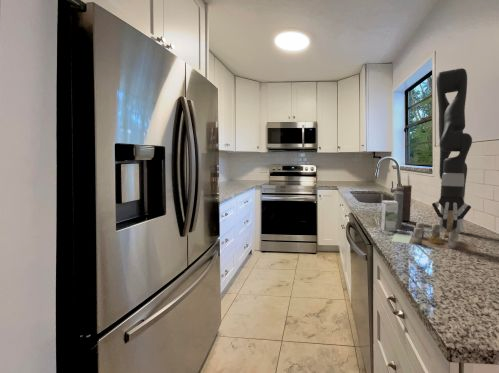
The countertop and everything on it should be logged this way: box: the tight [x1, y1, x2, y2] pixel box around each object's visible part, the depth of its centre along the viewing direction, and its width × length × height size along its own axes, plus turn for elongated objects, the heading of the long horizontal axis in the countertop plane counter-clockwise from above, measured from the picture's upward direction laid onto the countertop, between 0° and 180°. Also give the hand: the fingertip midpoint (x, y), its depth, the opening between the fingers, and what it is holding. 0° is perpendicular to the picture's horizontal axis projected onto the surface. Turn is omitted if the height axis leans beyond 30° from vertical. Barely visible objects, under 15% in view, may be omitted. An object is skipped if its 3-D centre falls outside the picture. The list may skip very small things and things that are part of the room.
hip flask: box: [393, 186, 404, 230], centre depth 167 cm, size 16×4×20 cm, turn 159°
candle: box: [397, 184, 412, 222], centre depth 180 cm, size 8×7×20 cm
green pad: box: [390, 233, 412, 245], centre depth 138 cm, size 6×16×1 cm, turn 149°
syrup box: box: [380, 199, 398, 232], centre depth 156 cm, size 6×6×14 cm
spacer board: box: [408, 222, 478, 253], centre depth 130 cm, size 22×16×7 cm
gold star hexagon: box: [428, 235, 443, 244], centre depth 131 cm, size 5×4×2 cm
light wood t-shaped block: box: [443, 210, 454, 239], centre depth 127 cm, size 3×7×10 cm
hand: (449, 228), depth 127 cm, fingers closed on light wood t-shaped block, 2 cm apart
